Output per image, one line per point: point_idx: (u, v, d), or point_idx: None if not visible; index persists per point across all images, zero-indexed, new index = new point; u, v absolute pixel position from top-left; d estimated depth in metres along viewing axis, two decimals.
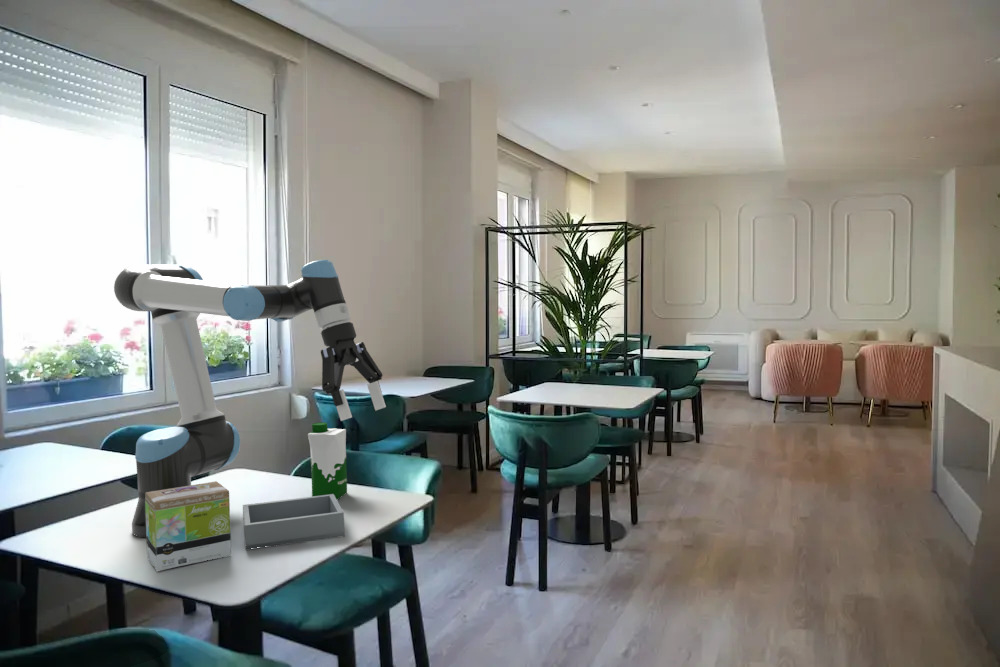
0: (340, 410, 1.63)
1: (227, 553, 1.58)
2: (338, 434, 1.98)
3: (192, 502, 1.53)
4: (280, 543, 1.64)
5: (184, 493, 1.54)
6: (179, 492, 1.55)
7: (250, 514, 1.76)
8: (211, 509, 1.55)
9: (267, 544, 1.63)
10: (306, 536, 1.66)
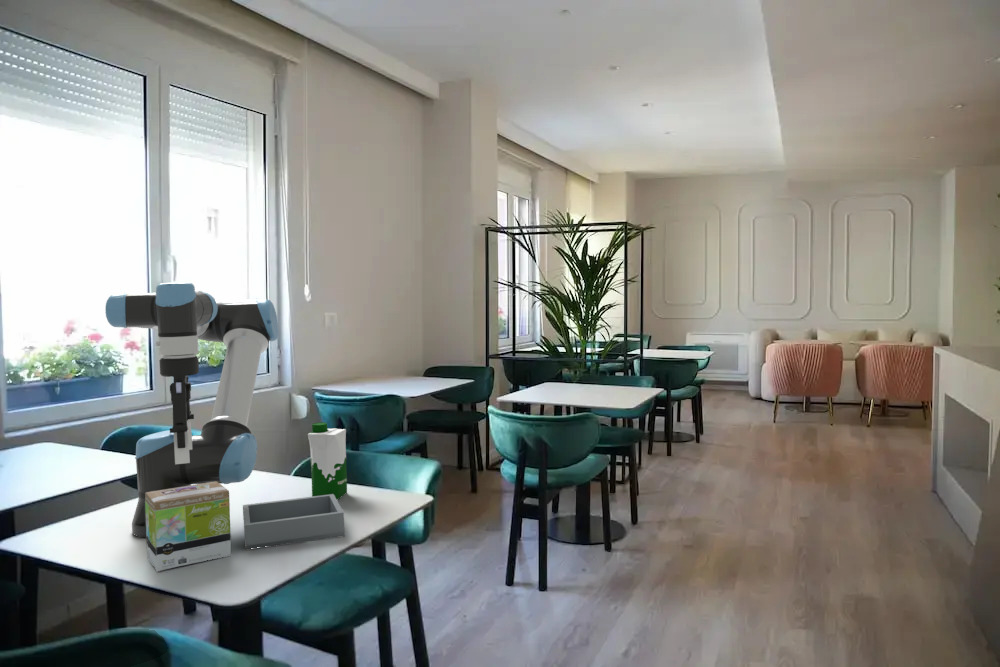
0: None
1: (227, 553, 1.58)
2: (338, 434, 1.98)
3: (192, 502, 1.53)
4: (280, 543, 1.64)
5: (184, 493, 1.54)
6: (179, 492, 1.55)
7: (250, 514, 1.76)
8: (211, 509, 1.55)
9: (267, 544, 1.63)
10: (306, 536, 1.66)
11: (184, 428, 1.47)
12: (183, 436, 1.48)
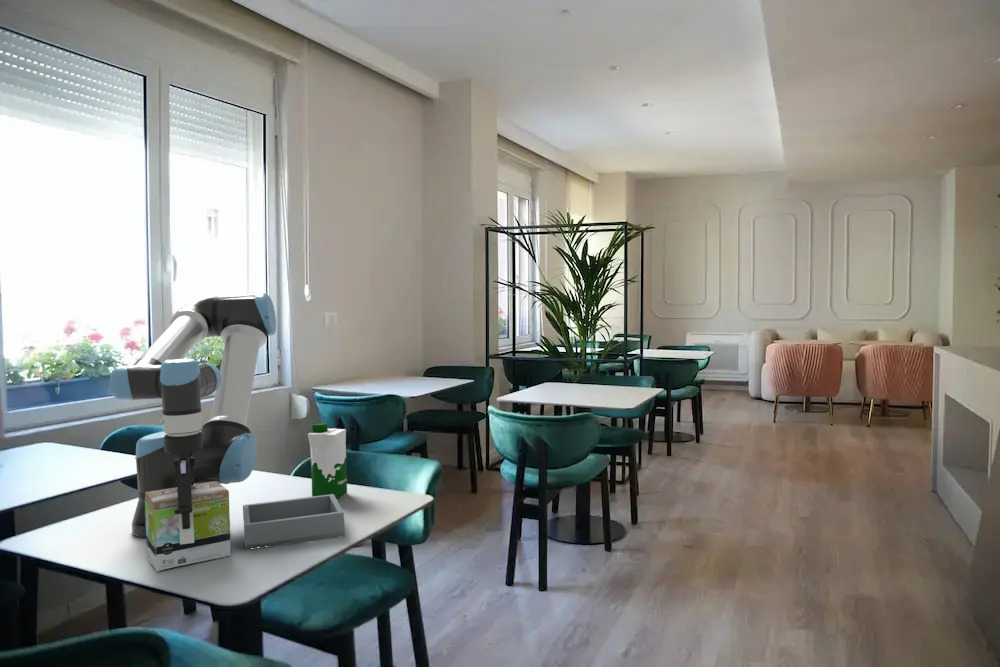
0: None
1: (226, 553, 1.58)
2: (338, 434, 1.98)
3: None
4: (280, 543, 1.64)
5: None
6: None
7: (250, 514, 1.76)
8: (210, 509, 1.55)
9: (267, 544, 1.63)
10: (306, 536, 1.66)
11: (189, 510, 1.49)
12: (188, 517, 1.50)
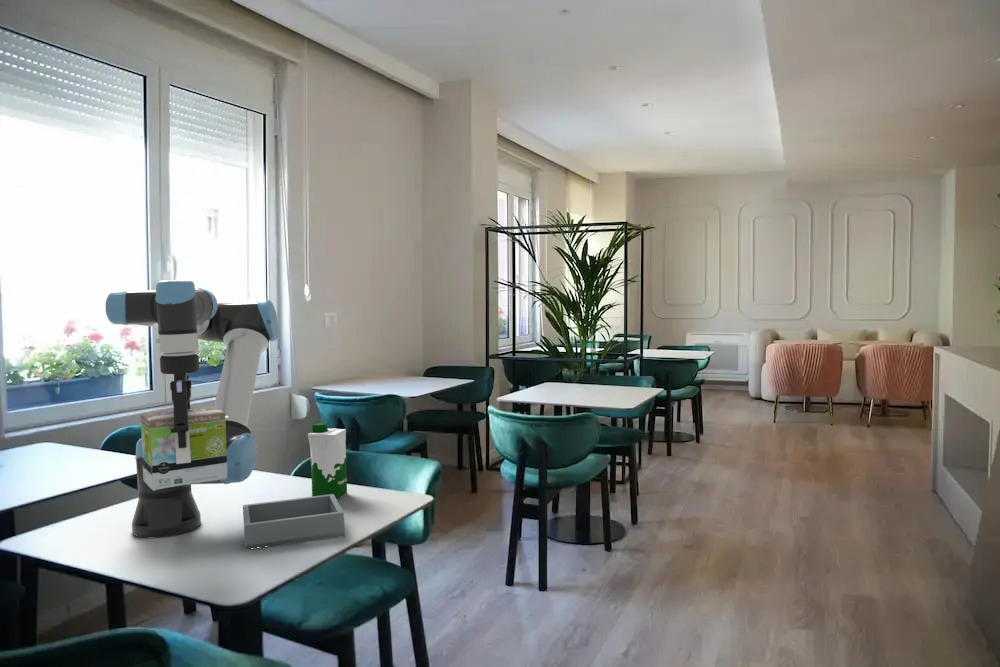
0: None
1: (223, 476, 1.57)
2: (338, 434, 1.98)
3: None
4: (280, 543, 1.64)
5: None
6: None
7: (250, 514, 1.76)
8: (207, 431, 1.54)
9: (267, 544, 1.63)
10: (306, 536, 1.66)
11: (185, 428, 1.48)
12: (184, 436, 1.49)
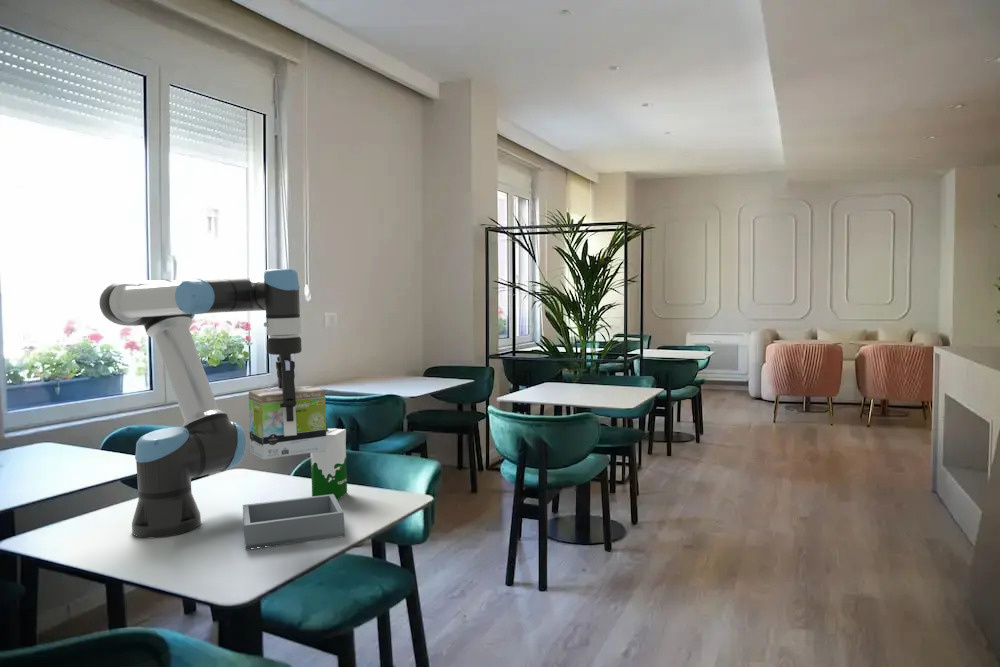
0: None
1: (323, 448, 1.71)
2: (338, 434, 1.98)
3: None
4: (280, 543, 1.64)
5: None
6: (280, 390, 1.69)
7: (250, 514, 1.76)
8: (309, 406, 1.69)
9: (267, 544, 1.63)
10: (306, 536, 1.66)
11: (294, 403, 1.63)
12: (292, 410, 1.64)
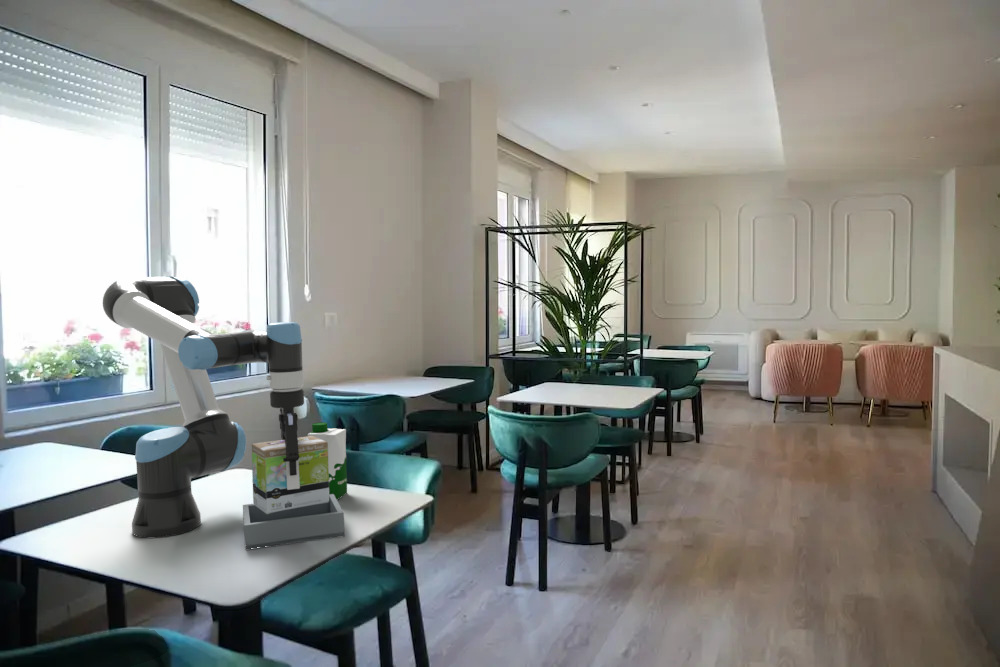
0: None
1: (326, 500, 1.72)
2: (338, 434, 1.98)
3: None
4: (280, 543, 1.64)
5: None
6: (283, 443, 1.70)
7: (250, 514, 1.76)
8: (312, 459, 1.70)
9: (267, 544, 1.63)
10: (306, 536, 1.66)
11: (297, 458, 1.63)
12: (295, 464, 1.65)
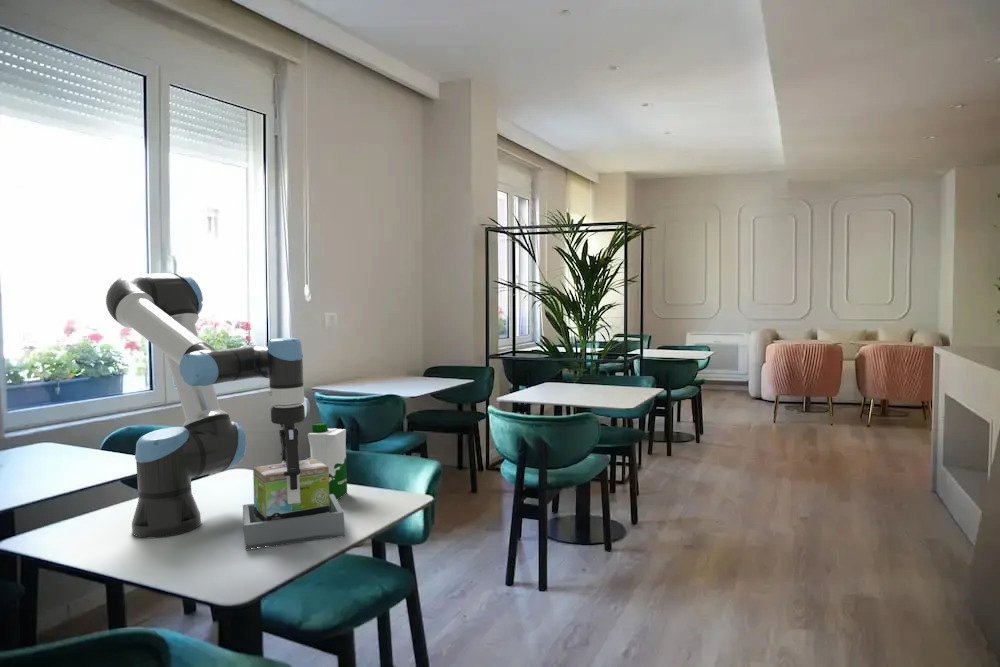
0: None
1: None
2: (338, 434, 1.98)
3: None
4: (280, 543, 1.64)
5: None
6: (284, 467, 1.70)
7: (250, 514, 1.76)
8: (313, 483, 1.70)
9: (267, 544, 1.63)
10: (306, 536, 1.66)
11: (298, 472, 1.63)
12: (296, 479, 1.64)
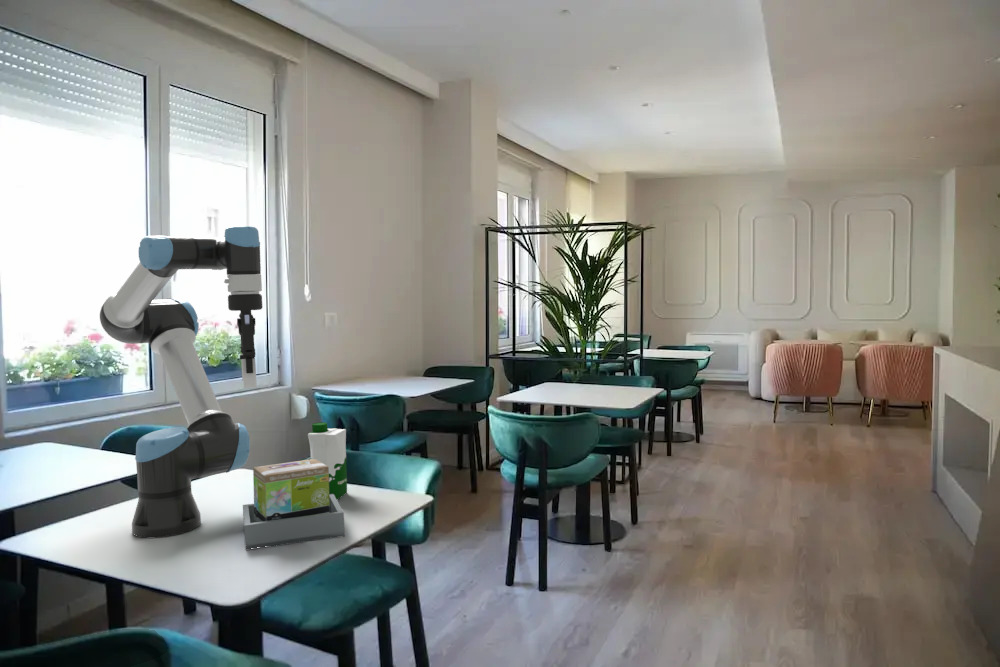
0: None
1: None
2: (338, 434, 1.98)
3: (297, 476, 1.68)
4: (280, 543, 1.64)
5: (289, 468, 1.69)
6: (284, 467, 1.70)
7: (250, 514, 1.76)
8: (313, 483, 1.70)
9: (267, 544, 1.63)
10: (306, 536, 1.66)
11: (253, 354, 1.64)
12: (251, 362, 1.65)
